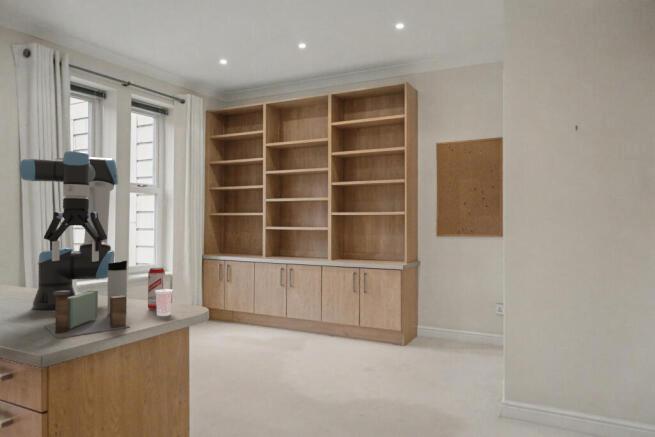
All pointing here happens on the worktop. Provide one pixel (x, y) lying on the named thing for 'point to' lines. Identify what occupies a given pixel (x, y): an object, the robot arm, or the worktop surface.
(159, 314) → the beverage cup
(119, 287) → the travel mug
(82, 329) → the base mat
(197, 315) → the worktop surface
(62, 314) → the hinge post
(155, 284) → the beer can
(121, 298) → the stile
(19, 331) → the worktop surface
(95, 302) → the gate
